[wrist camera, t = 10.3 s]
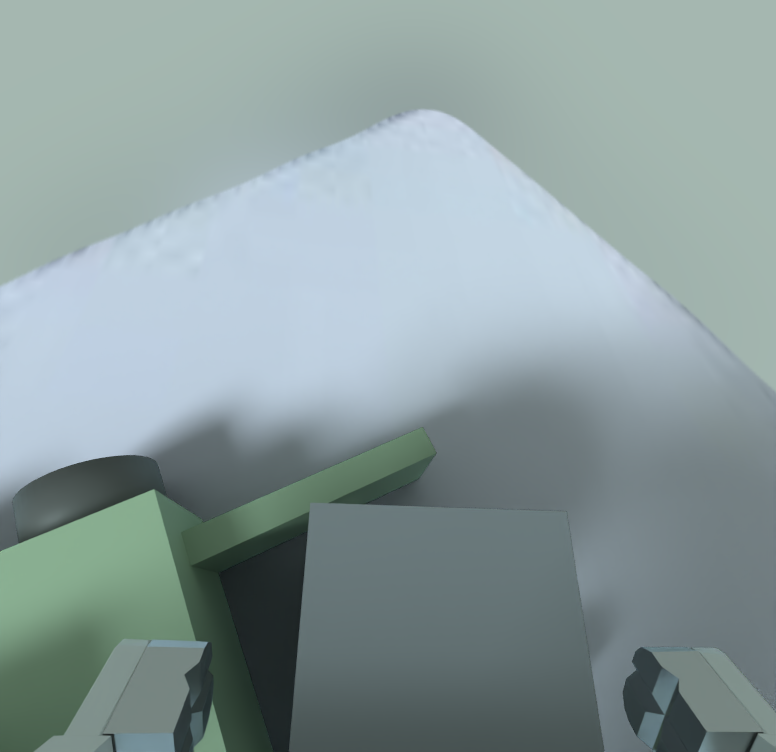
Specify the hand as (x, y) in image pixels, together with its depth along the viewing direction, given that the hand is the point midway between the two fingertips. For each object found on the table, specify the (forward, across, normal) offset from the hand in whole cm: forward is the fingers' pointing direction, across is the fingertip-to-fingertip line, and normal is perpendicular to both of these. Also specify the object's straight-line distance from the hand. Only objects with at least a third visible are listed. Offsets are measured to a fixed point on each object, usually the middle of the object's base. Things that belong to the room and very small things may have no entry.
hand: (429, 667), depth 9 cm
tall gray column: (+6, 0, -5) cm, 8 cm away
